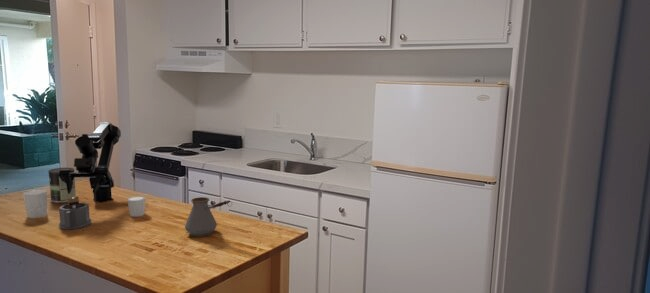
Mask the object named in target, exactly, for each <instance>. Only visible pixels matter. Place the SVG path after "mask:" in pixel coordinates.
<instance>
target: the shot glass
mask: <svg viewBox="0 0 650 293" xmlns="http://www.w3.org/2000/svg"><path fill="white" fill-rule="evenodd" d="M127 205H128V209H129V210H128V211H129V216H130V217H132V218H133V217H135V218H136V217H142V216H144V215H145V214H146V212H145V211H146V197H145V196H138V195H137V196H132V197H129V198H127Z"/></svg>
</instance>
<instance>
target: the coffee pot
mask: <svg viewBox="0 0 650 293" xmlns="http://www.w3.org/2000/svg"><path fill="white" fill-rule="evenodd" d="M190 201H191V203H192V208H191V211H190V212H189V215H188V217H187V220H186V222H185V224H184V229H185V230H186V232H188V234H190V235H191V236H193V237H206V236H209V235H211V234H212V233H213V232H214V231H215V230H216V228H217V225H218V223H217V221H216V219H215V217H214V215H213V213H212V210H211V209H213V208H214V209H215V208H218V207H222V206H225V205H227V206H229V203H231V205H230V207H231V206H233V202H232V201H231V200H224V201H223V202H222V201H221V202H219V203H215V204H213V205H211V206H210V205H208V204H209V201H210V198H209V197H201V196H200V197H194V198H192V199H191V200H190Z"/></svg>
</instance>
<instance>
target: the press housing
mask: <svg viewBox="0 0 650 293" xmlns="http://www.w3.org/2000/svg"><path fill="white" fill-rule="evenodd" d="M75 205H76V209H73V205H69V203H67V204H63V205H61V206H60V207H59V209H58V210H59V223H58V228H59V229H61V230H65V231H66V230H68V231H69V230H70V231H71V230H80V229H83V228H86V226H87V227H89V226H91V224H92V219H91V216H90V204H89V203H86V202H79V203H78V204H75Z"/></svg>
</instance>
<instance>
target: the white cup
mask: <svg viewBox="0 0 650 293" xmlns="http://www.w3.org/2000/svg"><path fill="white" fill-rule="evenodd" d="M23 199H24V205H25V210H26V216H27V218H28V219H38V218H40V219H41V218H43V217H45V216H47V215H48V191H47V190H45V189H33V190H29V191H24V192H23Z"/></svg>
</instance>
